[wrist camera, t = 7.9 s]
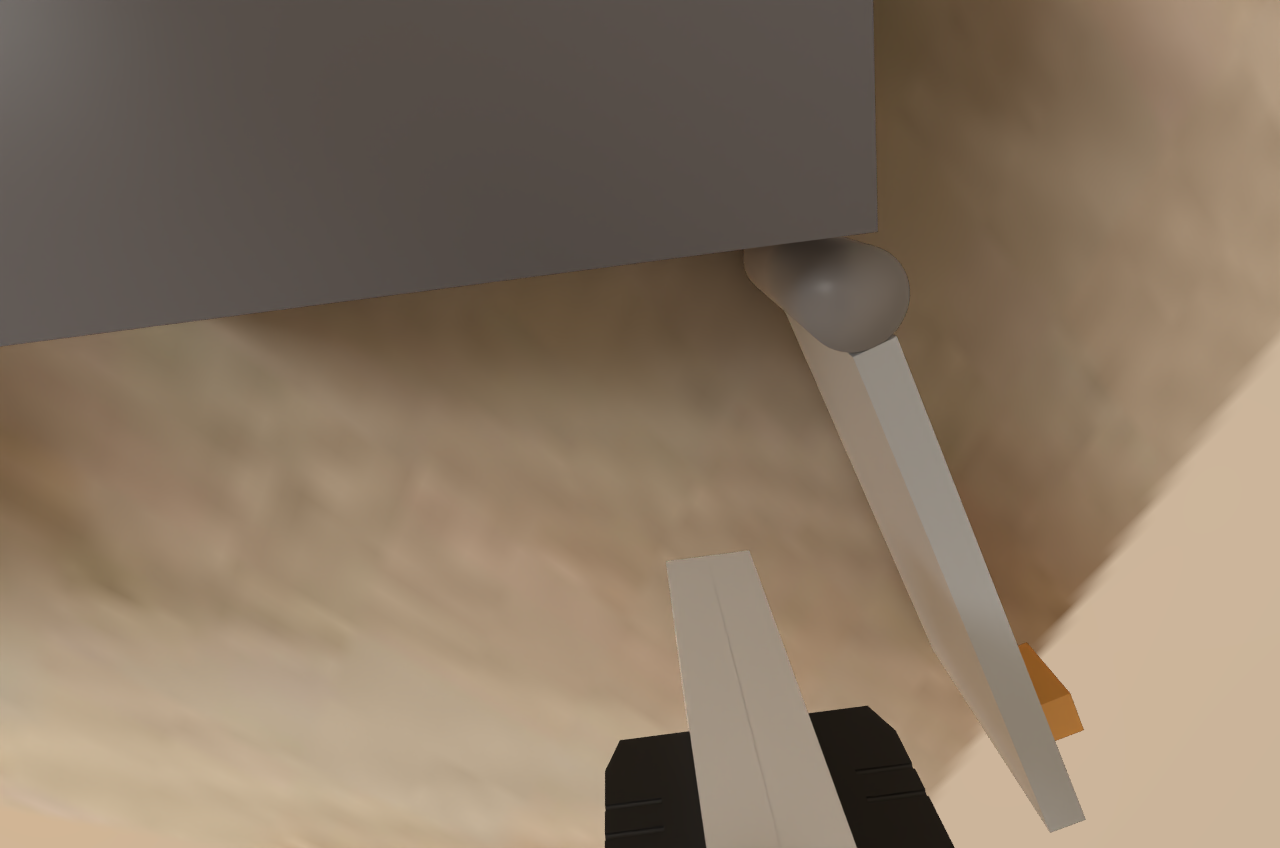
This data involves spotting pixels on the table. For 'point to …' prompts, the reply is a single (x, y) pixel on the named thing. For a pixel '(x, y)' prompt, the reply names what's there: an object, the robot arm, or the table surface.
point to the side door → (919, 500)
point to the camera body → (408, 146)
